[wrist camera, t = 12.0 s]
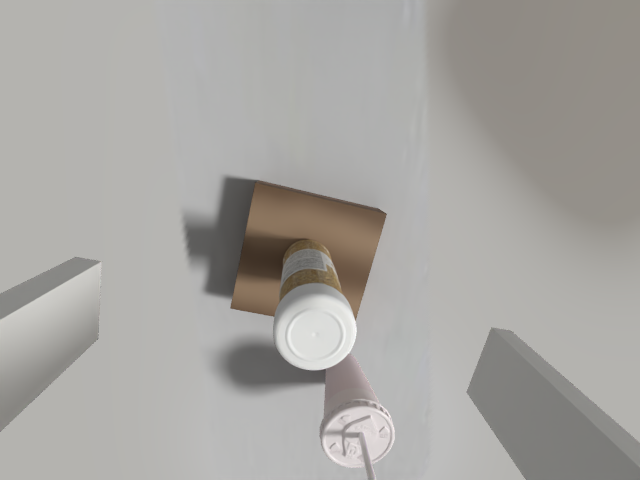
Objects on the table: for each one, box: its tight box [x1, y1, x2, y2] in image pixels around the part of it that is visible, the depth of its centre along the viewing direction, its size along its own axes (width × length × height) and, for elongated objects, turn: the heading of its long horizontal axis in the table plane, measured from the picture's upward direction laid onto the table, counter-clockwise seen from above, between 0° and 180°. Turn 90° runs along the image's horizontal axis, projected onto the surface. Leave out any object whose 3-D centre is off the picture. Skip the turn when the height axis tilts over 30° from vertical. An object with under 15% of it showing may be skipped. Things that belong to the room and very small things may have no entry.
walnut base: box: [231, 181, 387, 321], centre depth 32 cm, size 12×12×3 cm
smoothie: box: [320, 354, 395, 480], centre depth 30 cm, size 6×6×14 cm
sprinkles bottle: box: [273, 239, 357, 370], centre depth 24 cm, size 5×5×14 cm
